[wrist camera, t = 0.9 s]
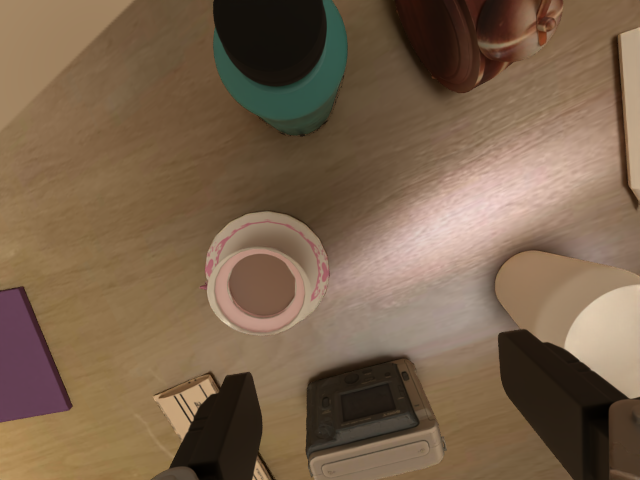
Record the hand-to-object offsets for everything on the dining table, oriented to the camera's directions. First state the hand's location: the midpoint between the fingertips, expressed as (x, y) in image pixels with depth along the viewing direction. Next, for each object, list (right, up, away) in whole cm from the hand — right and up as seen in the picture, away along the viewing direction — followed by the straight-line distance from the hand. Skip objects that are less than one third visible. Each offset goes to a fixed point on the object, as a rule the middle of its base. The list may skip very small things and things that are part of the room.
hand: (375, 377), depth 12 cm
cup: (+19, 0, +24) cm, 31 cm away
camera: (+3, -11, +27) cm, 29 cm away
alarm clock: (+8, +22, +19) cm, 30 cm away
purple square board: (-36, -8, +26) cm, 45 cm away
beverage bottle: (-4, +17, +20) cm, 27 cm away
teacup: (-7, +1, +24) cm, 25 cm away
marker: (+26, +14, +21) cm, 37 cm away
